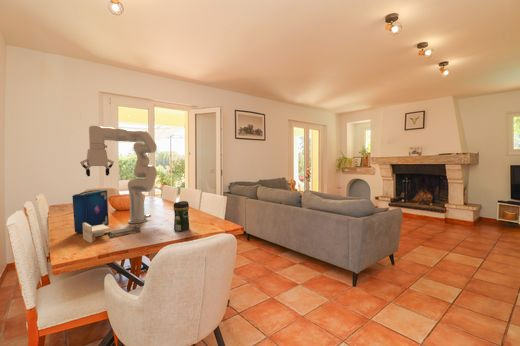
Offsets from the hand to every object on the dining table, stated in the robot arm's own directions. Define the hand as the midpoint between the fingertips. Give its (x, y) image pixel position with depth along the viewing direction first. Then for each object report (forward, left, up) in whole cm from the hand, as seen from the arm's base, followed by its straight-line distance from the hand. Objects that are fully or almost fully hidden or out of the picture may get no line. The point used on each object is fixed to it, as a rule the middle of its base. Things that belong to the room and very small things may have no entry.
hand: (98, 175), depth 152 cm
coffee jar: (-39, +26, -36) cm, 59 cm away
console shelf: (+3, +6, -36) cm, 36 cm away
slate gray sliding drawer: (-12, +6, -36) cm, 39 cm away
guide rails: (-11, +6, -36) cm, 38 cm away
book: (0, -18, -36) cm, 40 cm away
